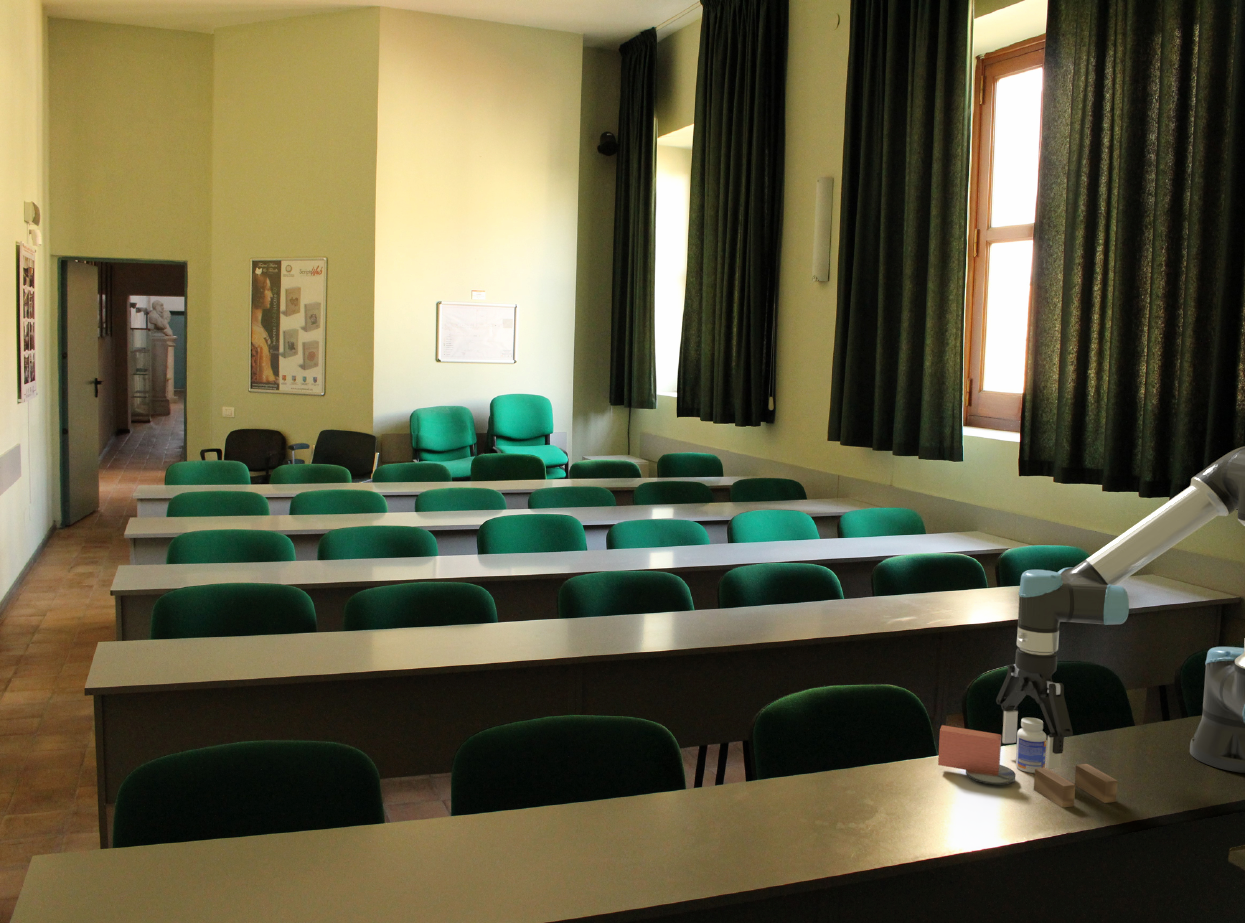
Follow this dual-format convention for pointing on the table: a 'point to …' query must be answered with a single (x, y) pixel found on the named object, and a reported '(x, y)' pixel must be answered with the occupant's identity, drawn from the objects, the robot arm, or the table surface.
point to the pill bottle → (1031, 745)
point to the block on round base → (974, 754)
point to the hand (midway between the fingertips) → (1030, 755)
